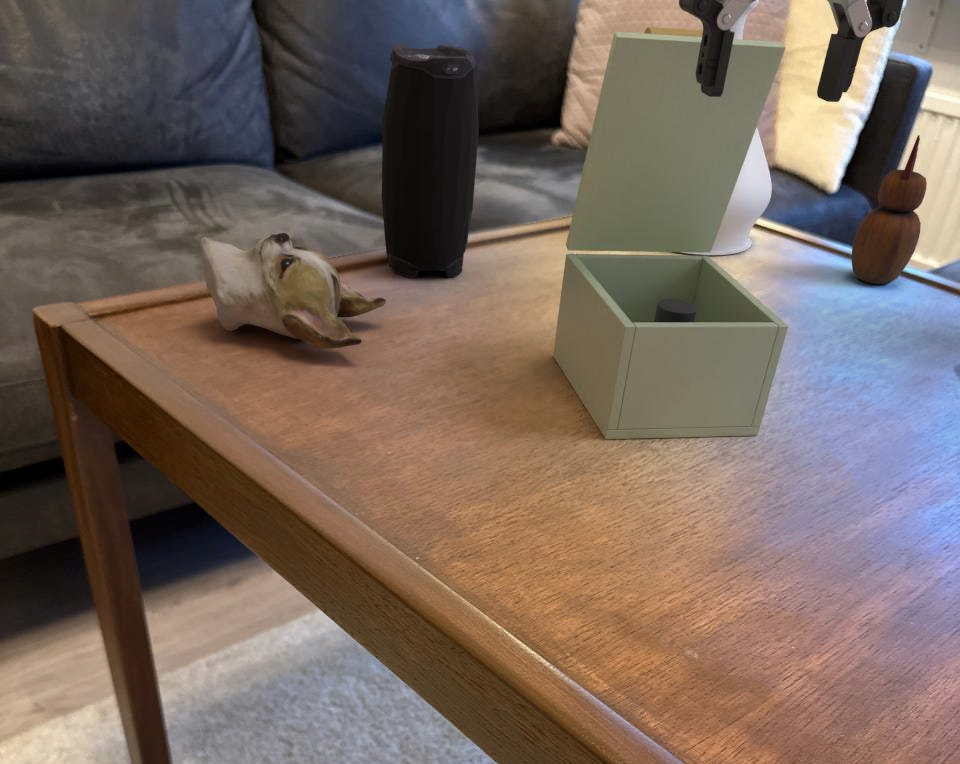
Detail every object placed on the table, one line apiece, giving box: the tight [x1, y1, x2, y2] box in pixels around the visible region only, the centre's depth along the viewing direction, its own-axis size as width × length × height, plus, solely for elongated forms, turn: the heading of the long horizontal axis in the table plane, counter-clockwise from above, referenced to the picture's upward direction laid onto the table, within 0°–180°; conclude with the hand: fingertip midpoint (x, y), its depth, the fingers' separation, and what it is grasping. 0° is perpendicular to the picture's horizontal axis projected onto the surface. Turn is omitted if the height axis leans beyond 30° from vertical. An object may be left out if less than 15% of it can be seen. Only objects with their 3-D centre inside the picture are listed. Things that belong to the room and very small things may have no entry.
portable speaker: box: [381, 43, 480, 279], centre depth 95 cm, size 9×9×20 cm
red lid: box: [654, 299, 697, 322], centre depth 77 cm, size 7×7×7 cm
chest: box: [552, 253, 789, 440], centre depth 79 cm, size 16×13×9 cm
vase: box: [680, 0, 773, 256], centre depth 110 cm, size 17×17×25 cm
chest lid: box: [565, 26, 786, 253], centre depth 76 cm, size 16×13×5 cm
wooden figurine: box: [851, 134, 928, 285], centre depth 105 cm, size 7×6×15 cm
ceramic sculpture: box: [200, 232, 387, 350], centre depth 83 cm, size 11×9×15 cm
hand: (770, 97), depth 66 cm, fingers open, 8 cm apart
